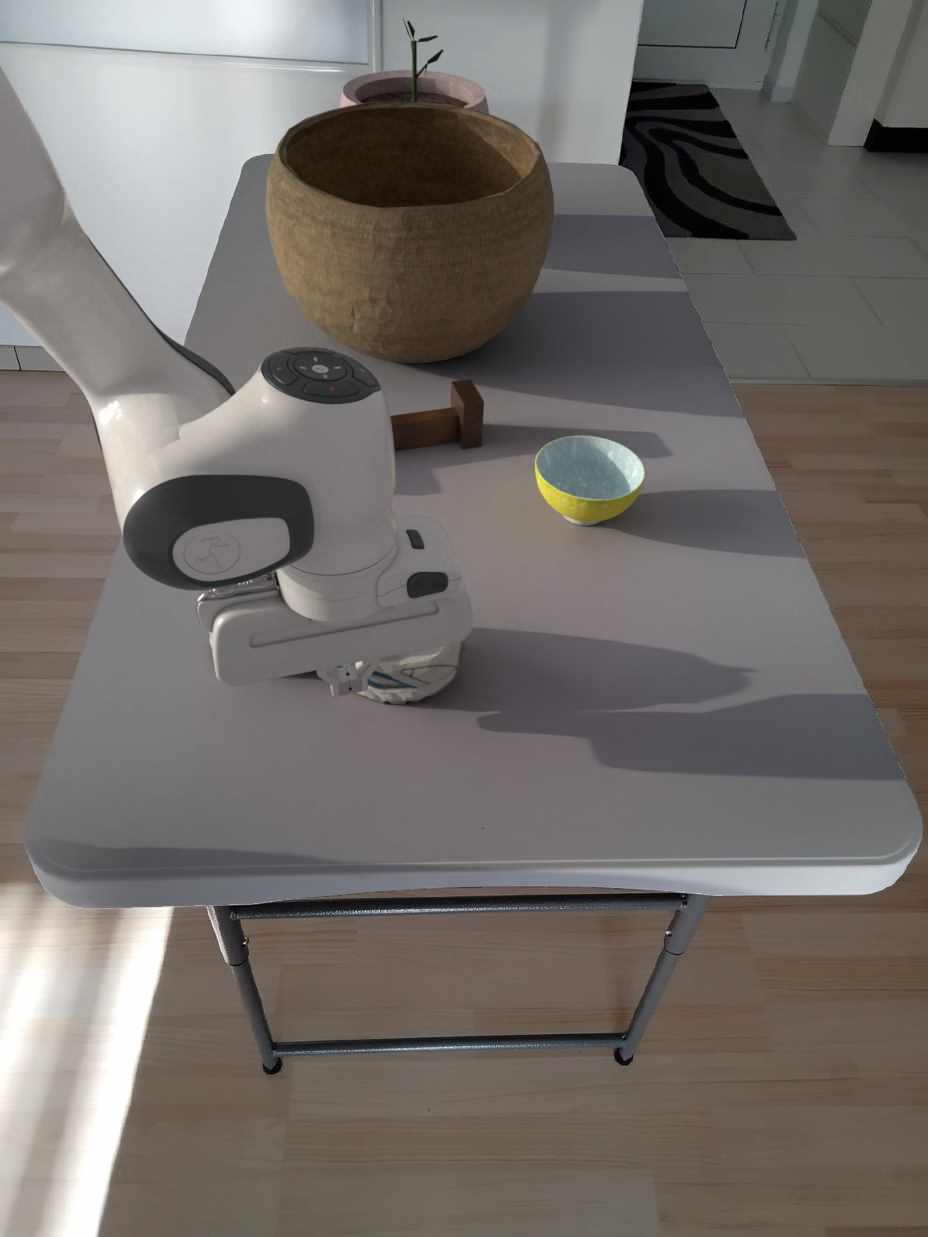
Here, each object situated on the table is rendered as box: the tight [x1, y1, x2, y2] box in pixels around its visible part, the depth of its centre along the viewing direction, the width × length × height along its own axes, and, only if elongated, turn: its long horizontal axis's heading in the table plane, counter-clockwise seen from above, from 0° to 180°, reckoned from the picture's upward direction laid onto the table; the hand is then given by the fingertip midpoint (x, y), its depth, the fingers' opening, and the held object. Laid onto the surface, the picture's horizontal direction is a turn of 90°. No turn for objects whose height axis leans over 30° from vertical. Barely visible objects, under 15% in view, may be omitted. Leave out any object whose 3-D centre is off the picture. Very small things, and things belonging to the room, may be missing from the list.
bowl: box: [534, 435, 647, 527], centre depth 97 cm, size 11×12×6 cm
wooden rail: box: [390, 378, 485, 451], centre depth 103 cm, size 30×5×6 cm, turn 107°
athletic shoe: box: [208, 571, 466, 705], centre depth 80 cm, size 10×23×12 cm, turn 87°
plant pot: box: [338, 18, 490, 115], centre depth 138 cm, size 24×24×30 cm
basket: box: [265, 101, 555, 364], centre depth 117 cm, size 35×35×25 cm
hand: (348, 688), depth 77 cm, fingers closed
